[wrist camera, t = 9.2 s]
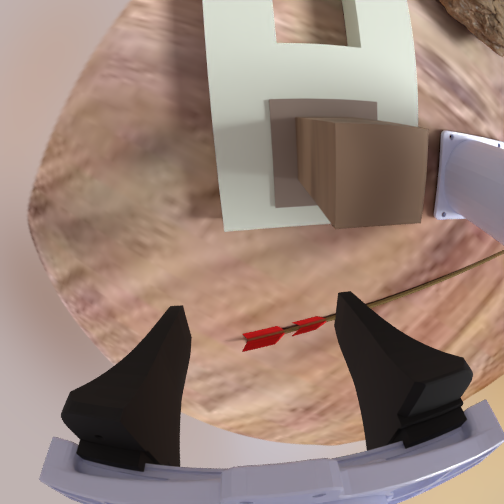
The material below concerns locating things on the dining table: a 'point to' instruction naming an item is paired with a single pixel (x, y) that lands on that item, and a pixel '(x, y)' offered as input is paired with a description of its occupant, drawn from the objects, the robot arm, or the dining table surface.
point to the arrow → (310, 324)
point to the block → (363, 169)
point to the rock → (481, 20)
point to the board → (296, 98)
